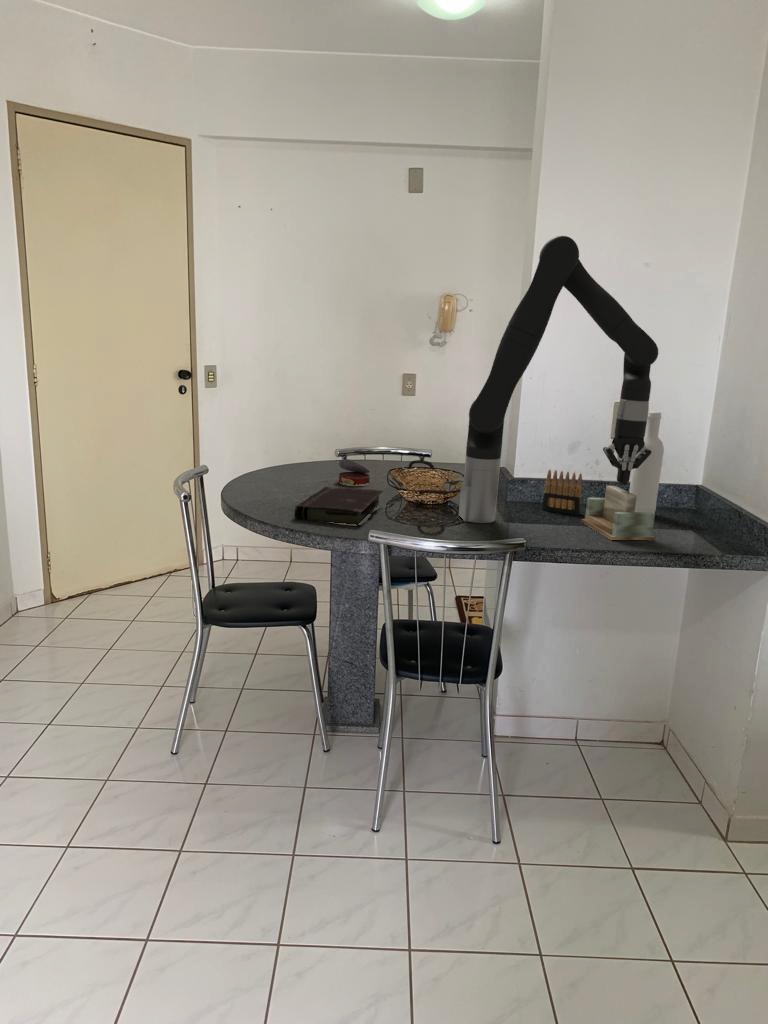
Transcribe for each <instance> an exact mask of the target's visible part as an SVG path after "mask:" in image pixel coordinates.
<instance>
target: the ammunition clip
mask: <svg viewBox="0 0 768 1024" xmlns="http://www.w3.org/2000/svg"><path fill="white" fill-rule="evenodd" d="M576 478H577V475H576V472H575V471H574V472H573V473H572V476H571V481H570V472H569V471H567V472H566V474H565V478H564V472H563V470H561V471H560V474H559V476H558V471H557V469H555V471H554V472H553V476H552V471H551V469H550V468H549V470H548V471H547V475H546V481H545V485H544V493H543V499H542V505H541V510H542V511H549V512H554V513H563V514H568V513H570V514H569V515H575V514H578V515H577V516H579V515H580V514H581V501H582V499H581V498H582V490H583V483H582V482H583V475H582V473H581V472H580V473H579V474H578V479H576ZM576 480H577V484H576Z"/></svg>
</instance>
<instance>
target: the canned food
mask: <svg viewBox="0 0 768 1024" xmlns="http://www.w3.org/2000/svg"><path fill="white" fill-rule="evenodd" d="M338 466H339V467H340V468H341V469H343V470H344V472H343V471H342V472H339V473H338V483H339V482H341V483H345V484H353V485H356V484H358V485H359V484H366V483H369V484H370V480H371V479H370V474H368V473H370V472H371V471H370V469H368V468H366V467H365V465H364V466H363V465H362V464H360V463H358V462H356V461H353V460H352V459H348V458H347V459H343V458H342V459H340V461H339V464H338Z"/></svg>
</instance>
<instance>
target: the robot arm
mask: <svg viewBox="0 0 768 1024" xmlns="http://www.w3.org/2000/svg"><path fill="white" fill-rule="evenodd" d="M579 258H580V250H579V246H578V244H577V243H576V241H575V240H574V239H573V238H572V237H570V236H567V235H558V236H555V237H552V238H550V239H549V240H548V241H546V242H545V244H544V245H543V247H542V248H541V250H540V252H539V257H538V259H539V260H538V264H537V266H536V269H535V272H534V275H533V278H532V280H531V282H530V285H529V286H528V289H527V290H526V293H525V294H524V296H523V297H522V299H521V300H520V302H519V304H517V307H516V308H515V311H514V312H513V313H512V316H511V317H510V319H509V321H508V324H507V326H506V328H505V329H504V333H503V334H502V337H501V338H500V341H499V342H500V343H499V344H498V346H497V349H496V353H495V356H494V359H493V363H492V365H491V369H490V372H489V374H488V377H487V379H486V381H485V382H484V385H483V386H482V388H481V390H480V392H479V394H478V395H477V397H476V398H475V400H474V401H473V402H472V403H471V405H470V408H469V412H468V418H469V419H468V429H467V440H466V448H465V449H466V451H465V462H464V474H463V475H464V476H463V481H462V482H461V483H460V496H459V505H458V506H459V508H458V517H459V516H460V517H461V518H462V519H463V520H462V519H461V518H460V517H459V518H460V519H461V520H462V521H463V522H466V523H467V522H469V523H475V524H476V523H477V524H490V523H494V522H495V521H496V514H497V513H496V511H497V501H498V492H499V491H498V490H499V479H500V471H501V459H502V451H503V449H502V448H503V439H504V438H503V437H504V436H503V434H504V426H505V425H504V424H505V417H506V412H507V411H508V408H509V404H510V401H511V400H512V399H511V398H512V396H513V394H514V391H515V388H516V386H517V385H518V383H519V382H520V380H521V378H522V376H523V375H524V373H525V371H526V370H527V368H528V366H529V364H530V363H531V361H532V359H533V357H534V356H535V353H536V351H537V349H538V347H539V346H540V344H541V343H540V342H541V341H542V339H543V336H544V333H545V332H546V329H547V326H548V324H549V321H550V318H551V316H552V314H553V313H552V312H553V310H554V306H555V304H556V302H557V299H558V297H559V295H560V293H561V291H562V289H563V288H565V289H566V290H567V291H568V292H569V293H570V294H571V295H572V296H573V297H574V298H575V299H576V300H577V301H578V303H579V304H580V306H582V308H583V309H584V310H585V312H586V313H588V315H589V316H590V317H591V319H592V320H593V322H595V323H596V325H597V326H598V327H599V328H600V329H601V331H603V333H604V334H605V335H606V336H607V337H608V338H609V339H610V340H611V341H612V342H614V343H616V344H617V345H618V347H619V349H621V350H622V351H623V352H624V355H623V372H622V373H623V379H622V386H621V391H620V397H619V398H620V399H619V402H618V406H617V412H616V418H615V426H614V437H613V439H612V440H611V444H609V445H608V446H604V447H602V452H603V453H604V454H605V456H606V458H607V459H608V461H609V463H610V465H611V466H612V467H614V468H616V469H617V476H616V481H617V482H618V483H617V484H619V485H628V483H629V482H630V480H631V473H632V469H634V468H636V469H637V468H638V467H639V466H640V465H641V464H642V463H643V462H644V461H645V460H646V459H647V457H648V456H649V455H650V454H651V450H649V449H647V448H646V447H645V446H644V445H645V442H644V436H645V432H646V425H647V418H648V412H649V411H650V409H649V407H650V402H649V401H650V397H651V396H650V395H651V390H652V381H651V378H650V373H651V366H652V365H653V364H654V363H655V362H656V361H657V359H658V356H659V347H658V345H657V343H656V342H655V341H654V340H653V338H652V337H651V336H650V335H649V334H648V333H647V332H646V331H645V330H643V329H642V328H641V327H640V326H639V325H638V324H637V323H636V322H635V321H634V320H633V318H632V317H631V315H630V314H629V313H628V312H627V311H626V310H625V309H624V307H623V306H622V305H621V304H620V303H619V301H618V300H617V299H615V298H614V296H612V295H611V293H609V292H608V291H607V290H605V288H604V287H602V286H601V285H600V284H599V283H598V282H597V281H596V280H595V278H594V277H592V275H591V274H590V273H589V272H588V271H587V269H586V268H585V266H584V265H583V263H582V261H581V260H580V259H579ZM615 452H616V454H617V455H616V454H615ZM638 453H639V455H638V456H637V457H636V455H637V454H638ZM616 456H617V457H616Z"/></svg>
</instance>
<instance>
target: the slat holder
mask: <svg viewBox="0 0 768 1024" xmlns="http://www.w3.org/2000/svg"><path fill="white" fill-rule="evenodd" d="M604 501H605V497H587V501H586V507H585V515H584V518H581V521H580V523H581V522H582V524H583V523H584V524H583V525H585V526H586V525H587V526H586V527H588V528H590V529H591V528H592V529H591V530H593V531H594V530H595V531H594V532H596V531H597V532H596V533H598V532H599V533H600V534H599V533H598V534H599V535H601V534H602V535H604V536H605V537H604V536H603V537H604V538H606V537H607V538H608V539H607V538H606V539H607V540H609V539H610V540H609V541H611V540H655V541H656V537H655V536H654V535H653V530H654V523H655V516H656V514H653V513H651V512H614V520H613V524H612V523H611V522H609V521H607V520H605V519H603V518H602V517H603V509H604ZM602 535H601V536H602Z"/></svg>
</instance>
